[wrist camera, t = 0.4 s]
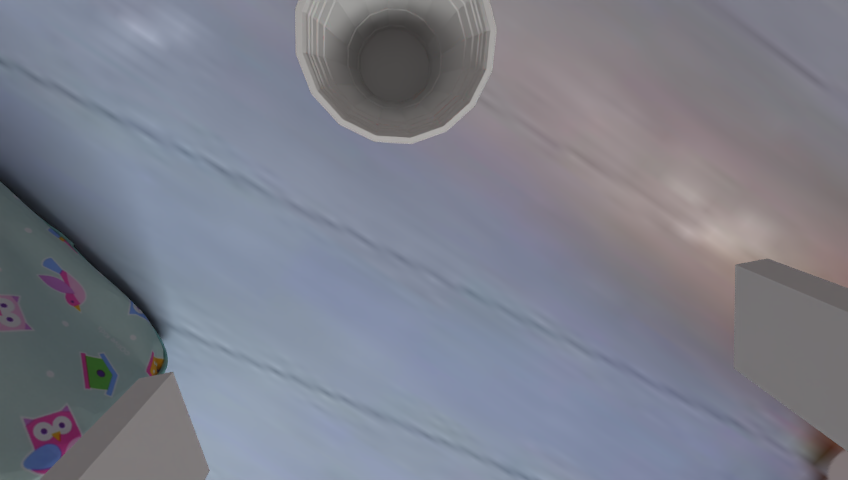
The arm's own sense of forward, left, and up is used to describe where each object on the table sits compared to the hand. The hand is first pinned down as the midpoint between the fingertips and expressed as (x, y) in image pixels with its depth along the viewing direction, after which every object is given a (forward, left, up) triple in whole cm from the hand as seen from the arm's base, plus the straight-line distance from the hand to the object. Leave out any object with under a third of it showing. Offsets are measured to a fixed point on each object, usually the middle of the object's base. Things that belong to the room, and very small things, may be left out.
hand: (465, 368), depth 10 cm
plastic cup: (-10, +1, -28) cm, 30 cm away
